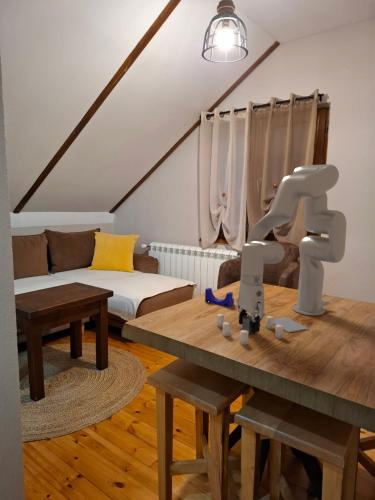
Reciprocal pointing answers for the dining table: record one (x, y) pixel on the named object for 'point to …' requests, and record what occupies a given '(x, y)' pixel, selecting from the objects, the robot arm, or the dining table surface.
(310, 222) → the robot arm
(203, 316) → the dining table surface
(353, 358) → the dining table surface
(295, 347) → the dining table surface
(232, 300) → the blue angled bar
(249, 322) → the grey faceted polyhedron
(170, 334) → the dining table surface
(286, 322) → the mat
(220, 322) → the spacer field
